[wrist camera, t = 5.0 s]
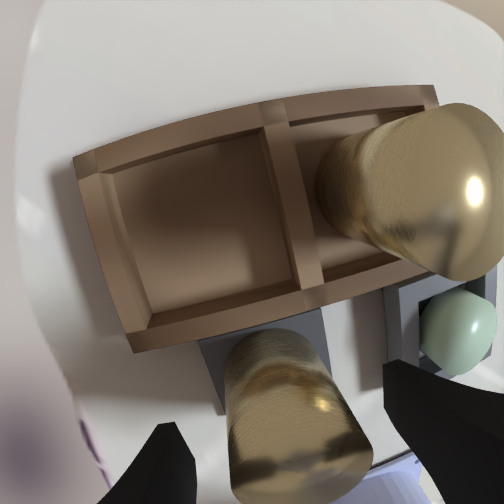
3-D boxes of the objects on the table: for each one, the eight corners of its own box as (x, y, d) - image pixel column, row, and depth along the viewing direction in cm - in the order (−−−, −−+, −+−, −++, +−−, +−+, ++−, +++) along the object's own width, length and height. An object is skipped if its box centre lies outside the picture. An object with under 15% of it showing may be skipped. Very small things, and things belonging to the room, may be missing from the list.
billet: (323, 392, 13) (372, 488, 8) (237, 415, 13) (250, 522, 7) (309, 316, 13) (372, 406, 7) (212, 342, 12) (210, 451, 7)
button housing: (474, 344, 15) (490, 355, 13) (389, 386, 14) (402, 402, 13) (477, 244, 13) (496, 249, 12) (381, 278, 13) (398, 288, 12)
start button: (469, 340, 14) (493, 356, 12) (416, 366, 13) (438, 387, 11) (472, 276, 13) (499, 288, 11) (415, 300, 13) (441, 316, 11)
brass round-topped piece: (413, 225, 12) (523, 255, 6) (326, 250, 12) (415, 305, 6) (395, 129, 11) (505, 103, 5) (303, 144, 11) (383, 107, 5)
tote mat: (331, 387, 14) (334, 392, 14) (228, 415, 14) (228, 420, 13) (318, 305, 13) (320, 308, 13) (198, 336, 13) (198, 340, 12)
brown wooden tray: (440, 253, 13) (467, 263, 11) (140, 338, 12) (129, 361, 11) (410, 88, 12) (436, 78, 10) (85, 156, 11) (63, 152, 9)
